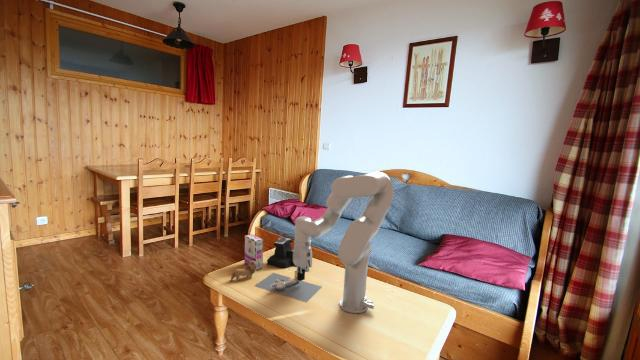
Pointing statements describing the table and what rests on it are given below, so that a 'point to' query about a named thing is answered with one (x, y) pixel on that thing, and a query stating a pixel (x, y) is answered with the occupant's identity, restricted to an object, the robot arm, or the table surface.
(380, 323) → the table surface
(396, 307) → the table surface
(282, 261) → the camera
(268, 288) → the base plate
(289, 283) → the crank handle
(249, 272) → the lion figurine
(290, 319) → the table surface
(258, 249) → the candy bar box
